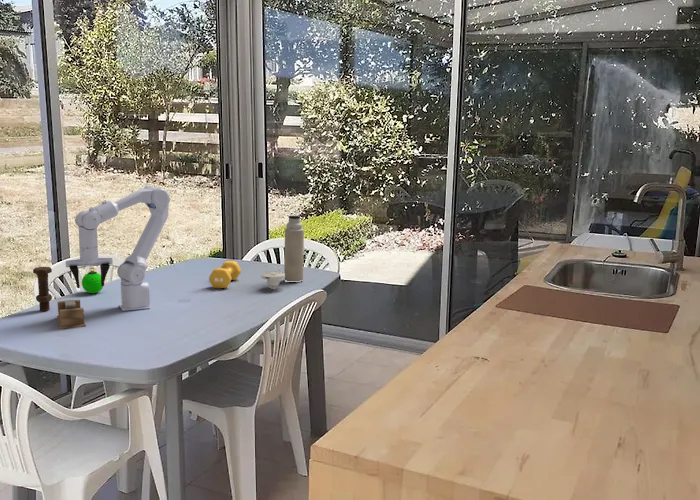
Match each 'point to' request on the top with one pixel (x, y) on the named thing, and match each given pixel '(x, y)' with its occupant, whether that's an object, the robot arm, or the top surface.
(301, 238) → the thermos bottle
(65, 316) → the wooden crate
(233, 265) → the dumbbell
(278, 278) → the showerhead
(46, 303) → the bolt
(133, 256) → the robot arm
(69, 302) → the grey concrete block
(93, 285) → the ornament
